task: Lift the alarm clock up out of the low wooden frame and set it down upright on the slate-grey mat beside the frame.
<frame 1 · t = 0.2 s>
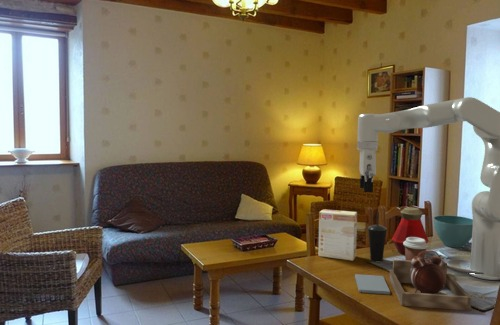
hand: (366, 190, 154), 31 cm above the table, tool pointing down, fingers open, 9 cm apart
alarm clock: (426, 295, 132), resting in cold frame
teal bowl: (453, 245, 187), on the table
drinking cup: (376, 260, 166), on the table
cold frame: (426, 294, 132), on the table
coffee cup: (414, 269, 155), on the table
coffeecake box: (337, 256, 170), on the table
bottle: (409, 253, 175), on the table
slate mat: (371, 285, 139), on the table
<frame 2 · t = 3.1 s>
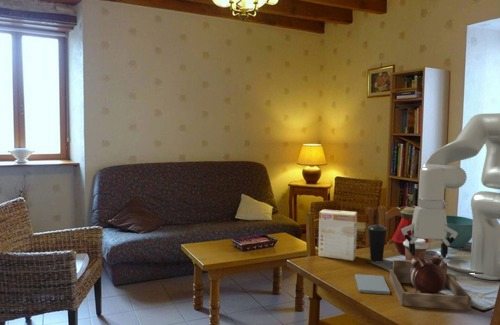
hand: (427, 255, 130), 13 cm above the table, tool pointing down, fingers open, 9 cm apart
alarm clock: (426, 295, 132), resting in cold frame, touching gripper
everything else where it was.
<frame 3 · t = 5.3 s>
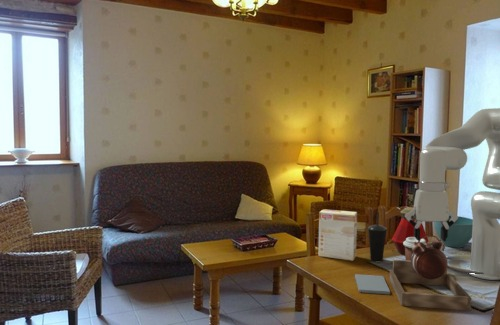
hand: (430, 239, 130), 19 cm above the table, tool pointing down, fingers closed on alarm clock, 7 cm apart
alarm clock: (429, 280, 132), point 5 cm above the table, touching gripper
everything else where it was.
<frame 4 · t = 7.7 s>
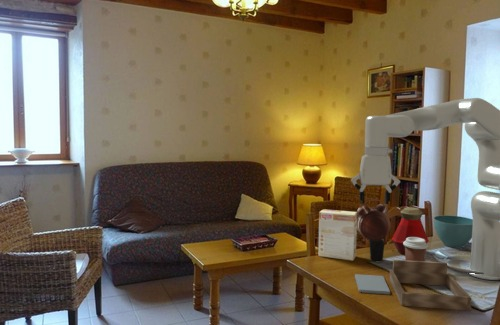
hand: (374, 202, 137), 29 cm above the table, tool pointing down, fingers closed on alarm clock, 7 cm apart
alarm clock: (373, 242, 138), point 15 cm above the table, touching gripper
everything else where it was.
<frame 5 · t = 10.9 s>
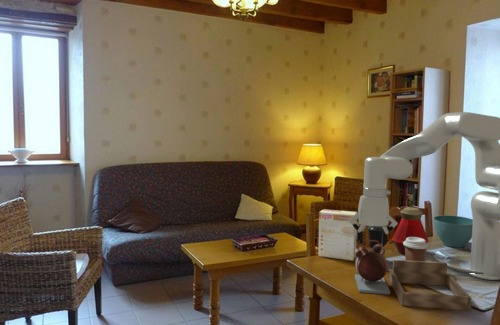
hand: (371, 243, 138), 15 cm above the table, tool pointing down, fingers closed on alarm clock, 7 cm apart
alarm clock: (371, 282, 139), point 1 cm above the table, touching gripper, slate mat
everything else where it was.
when the fingers open (14 cm above the table, at t = 11.8 s): alarm clock stays where it is, resting on slate mat.
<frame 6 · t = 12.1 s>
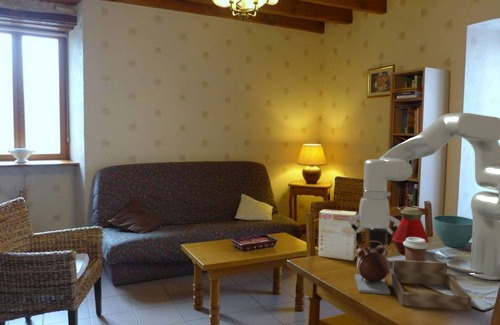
hand: (373, 243, 138), 15 cm above the table, tool pointing down, fingers open, 9 cm apart
alarm clock: (371, 282, 139), point 1 cm above the table, touching slate mat
everything else where it was.
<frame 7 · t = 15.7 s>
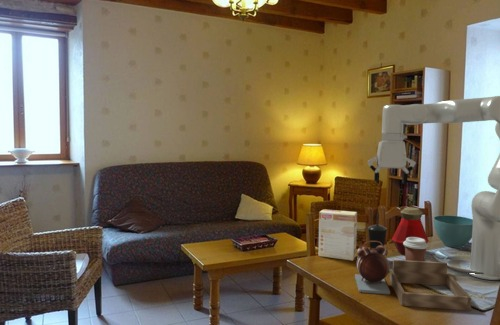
hand: (390, 183, 150), 34 cm above the table, tool pointing down, fingers open, 9 cm apart
nothing on the table moved.
at the end: alarm clock inside the target area on the slate mat (0.2 cm from its centre), point 0.8 cm above the slate mat's base; alarm clock tilted 0°; the gripper is holding nothing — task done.
